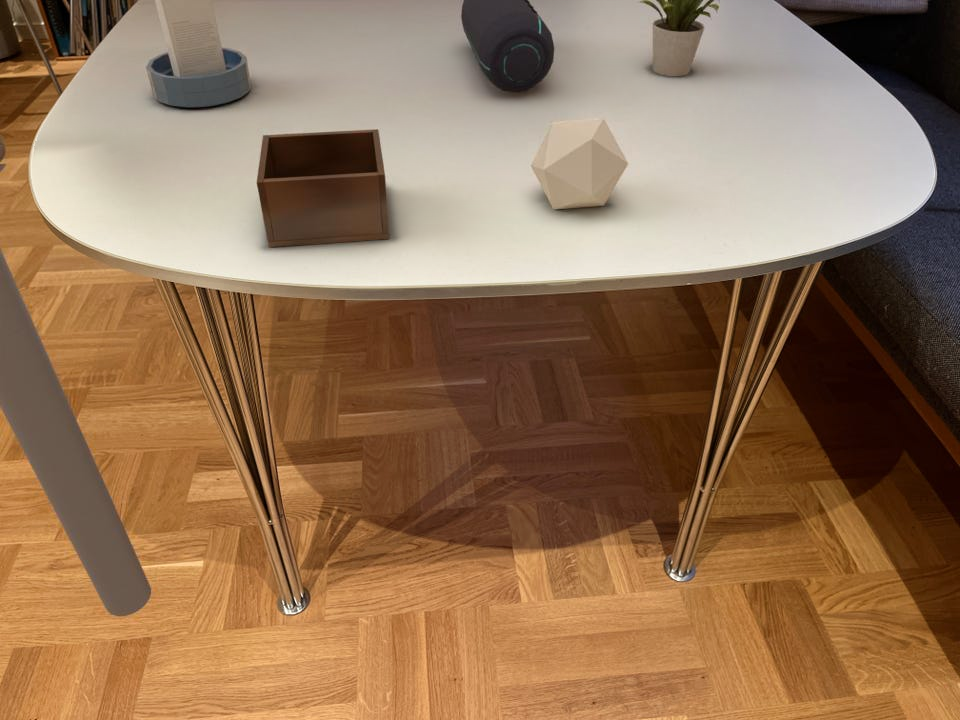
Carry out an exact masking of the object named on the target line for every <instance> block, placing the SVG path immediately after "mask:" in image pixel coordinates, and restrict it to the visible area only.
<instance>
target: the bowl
mask: <svg viewBox="0 0 960 720" xmlns="http://www.w3.org/2000/svg"><path fill="white" fill-rule="evenodd" d="M222 51H223V56H224V61H225V66H226V71H224V72H221V73H217V74H211V75H205V76H195V77H177V76H174V74H173V70H172V66H171V62H170V58H169V54H168V51H167V52H164V53H160V54H158V55H156V56H155V57H152V58H151V59H149V60H148V63H147V64H146V66H145V69H146V72H147V76H148V80H149V84H150V88H151V92H152V95H153V97H154V98H155V99H156V100H157V101H158V102H160V103H162V104H165V105H168V106H172V107H179V108H190V109H191V108H193V109H194V108H195V109H196V108H197V109H198V108H208V107H209V108H210V107H216V106H221V105H223V104H228V103H231V102H233V101H235V100H237V99H241V98H242V97H244V96H245V95H246V94H248V93H249V92H251V86H252V82H251V81H252V80H251V76H250V75H251V74H250V69H249V65H248V64H249V63H248V58H247V56H246V55H245V54H244V53H243V52H241V51H239V50H237V49H233V48H230V47H222Z"/></svg>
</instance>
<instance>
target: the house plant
mask: <svg viewBox="0 0 960 720" xmlns="http://www.w3.org/2000/svg"><path fill="white" fill-rule="evenodd" d="M655 1H656V2H657V3H658V4H659V5H660V7H661V9H662V10H663V12H664V13H665V16H666V17H663V13H662V11H661V9H660V8H659V7H658V6H657V5H656V4H655V3H654V2H652V1H651V0H640V1H638V2H637V4H639V3H641V4H645V5H647V6H649V7H651V8H653V9H654V10H655V11H656V12H657V13H658V14H659V16H660V18H658V19H655V20H654V21H653V22H652V71H653V72H654V73H656V74H657V75H661V76H667V77H683V76H687V75H688V74H689V73H690V71H691V69H692V65H693V62H694V60H695V57H696V53H697V51H698V47H699V44H700V42H701V39H702V37H703V33H704V30H705V25H704V23H702V22H700V21H698V20H697V19H698V18H699V16H706V17H708V18H710V20H713V19H712V16H711V13H710V12H708V11H706V9H707V8H708V7H710V8H713V9H714V11H715V12H716V13H718V10H719V8H720V6H719V5H718V3H717V4H716V3H713V2H714V1H715V0H707V1H706V3H704V5H702V6H701V4H702V3H703V1H704V0H655ZM718 2H719V3H720V1H718Z"/></svg>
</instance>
